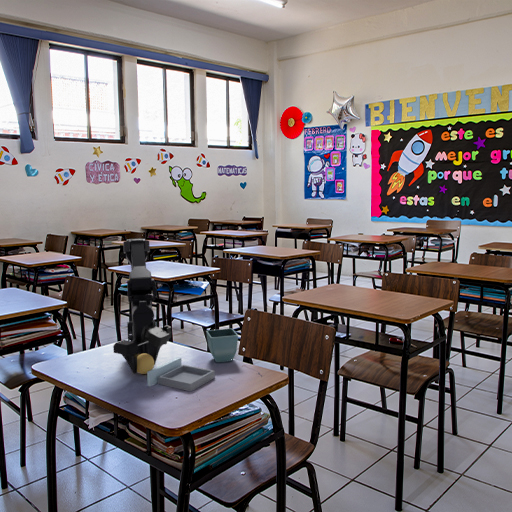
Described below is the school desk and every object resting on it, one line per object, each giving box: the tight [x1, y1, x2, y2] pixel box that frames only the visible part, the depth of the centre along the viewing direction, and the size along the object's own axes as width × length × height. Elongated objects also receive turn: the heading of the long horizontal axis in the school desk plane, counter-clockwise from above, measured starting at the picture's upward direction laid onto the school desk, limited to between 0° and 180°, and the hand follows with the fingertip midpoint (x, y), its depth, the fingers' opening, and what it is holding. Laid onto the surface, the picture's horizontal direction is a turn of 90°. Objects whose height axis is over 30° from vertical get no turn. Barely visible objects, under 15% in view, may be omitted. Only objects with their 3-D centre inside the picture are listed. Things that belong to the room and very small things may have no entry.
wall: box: [146, 357, 183, 387], centre depth 143 cm, size 1×14×4 cm, turn 150°
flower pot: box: [205, 328, 239, 363], centre depth 158 cm, size 9×9×9 cm
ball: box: [137, 353, 155, 375], centre depth 147 cm, size 6×6×6 cm
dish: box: [157, 364, 216, 392], centre depth 140 cm, size 11×11×2 cm
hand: (144, 369), depth 147 cm, fingers open, 8 cm apart
